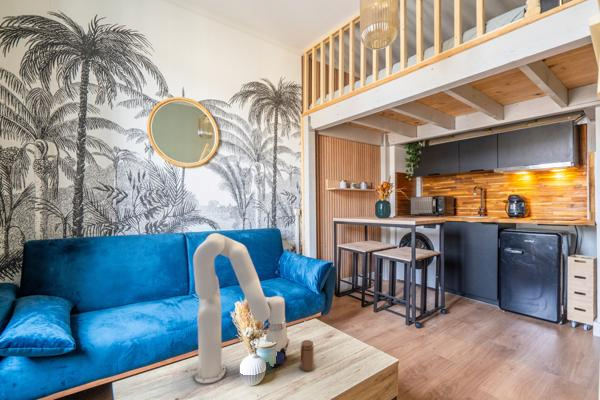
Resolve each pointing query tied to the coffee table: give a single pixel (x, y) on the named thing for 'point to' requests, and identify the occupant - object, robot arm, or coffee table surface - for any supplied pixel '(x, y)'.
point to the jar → (307, 355)
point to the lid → (279, 357)
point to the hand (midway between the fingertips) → (277, 362)
